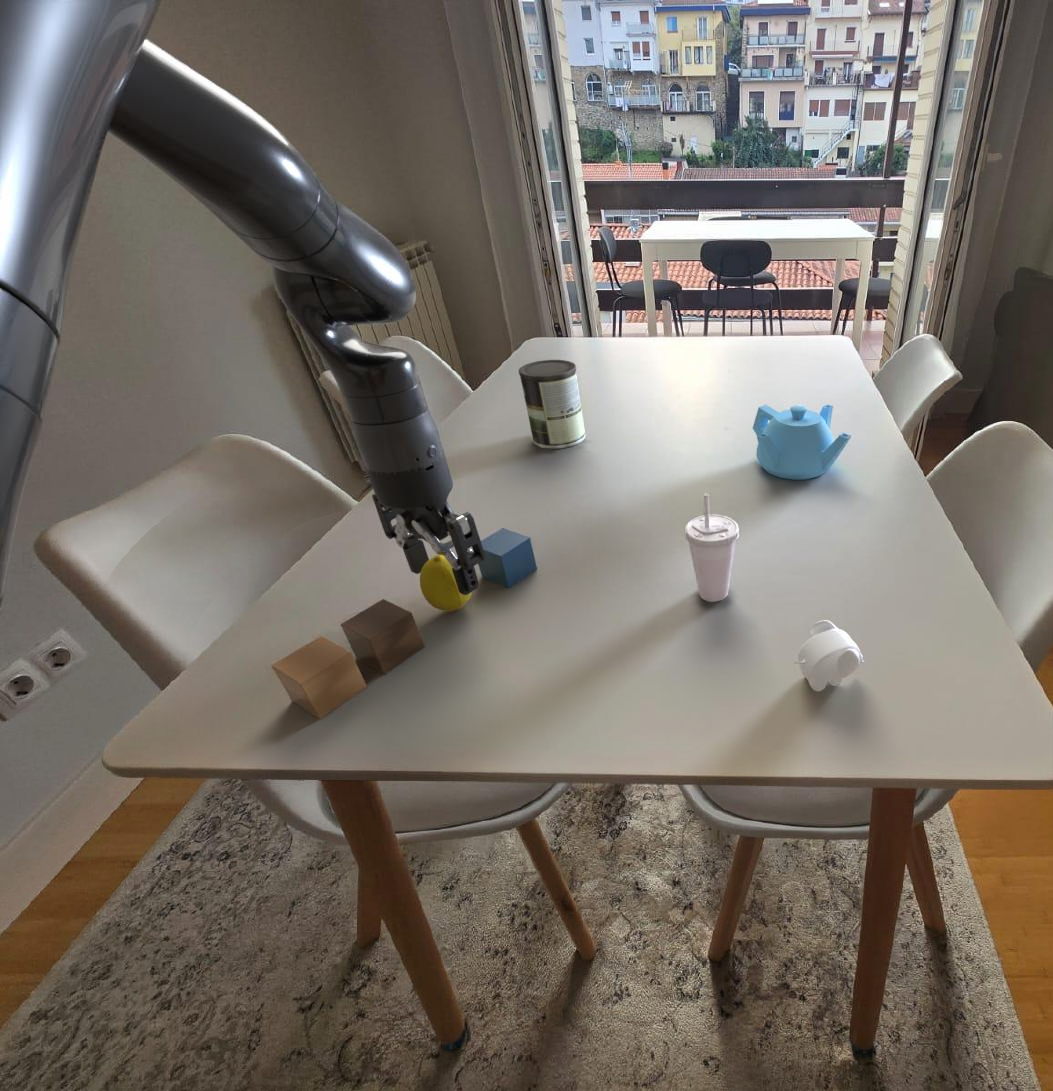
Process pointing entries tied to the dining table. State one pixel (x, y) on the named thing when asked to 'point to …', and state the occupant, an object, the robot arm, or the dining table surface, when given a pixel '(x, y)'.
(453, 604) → the lemon
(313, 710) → the block
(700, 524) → the smoothie
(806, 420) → the teapot
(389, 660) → the block
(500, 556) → the block
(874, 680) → the dining table surface
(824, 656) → the white rounded piece
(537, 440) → the coffee can
